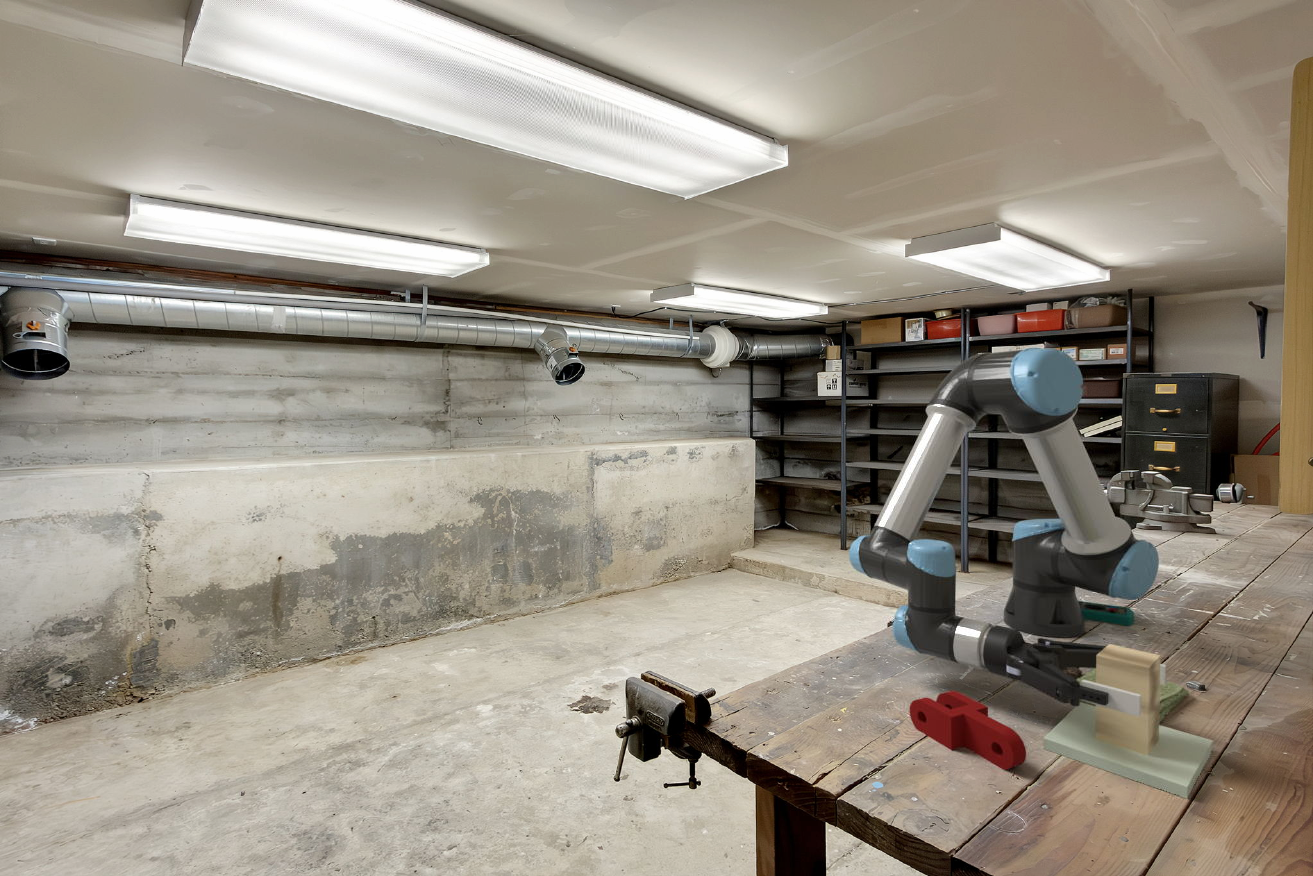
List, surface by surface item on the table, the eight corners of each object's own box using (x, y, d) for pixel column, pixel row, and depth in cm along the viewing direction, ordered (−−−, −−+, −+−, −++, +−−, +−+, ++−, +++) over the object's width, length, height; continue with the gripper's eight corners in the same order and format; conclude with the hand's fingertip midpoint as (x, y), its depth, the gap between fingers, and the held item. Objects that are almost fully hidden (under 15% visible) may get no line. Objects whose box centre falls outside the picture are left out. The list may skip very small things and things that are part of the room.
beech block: (1108, 724, 95) (1109, 643, 95) (1158, 739, 91) (1160, 655, 90) (1095, 738, 91) (1096, 655, 91) (1147, 755, 87) (1149, 667, 86)
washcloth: (1193, 699, 106) (1193, 679, 106) (1155, 733, 96) (1155, 712, 96) (1101, 673, 117) (1101, 656, 117) (1058, 702, 107) (1058, 682, 106)
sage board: (1080, 711, 102) (1080, 702, 102) (1212, 751, 90) (1212, 740, 90) (1043, 748, 92) (1043, 738, 92) (1186, 798, 80) (1187, 787, 80)
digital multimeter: (1133, 629, 139) (1133, 615, 138) (1052, 616, 147) (1052, 603, 147) (1134, 619, 144) (1134, 606, 144) (1056, 608, 153) (1056, 595, 153)
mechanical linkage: (909, 726, 99) (909, 694, 99) (944, 716, 102) (944, 685, 102) (1000, 781, 85) (1000, 744, 84) (1038, 768, 87) (1038, 732, 87)
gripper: (1020, 650, 113) (1173, 688, 97) (955, 694, 96) (1127, 750, 80) (1020, 607, 112) (1174, 639, 96) (955, 645, 96) (1128, 691, 80)
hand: (1153, 689), depth 88 cm, fingers open, 13 cm apart
